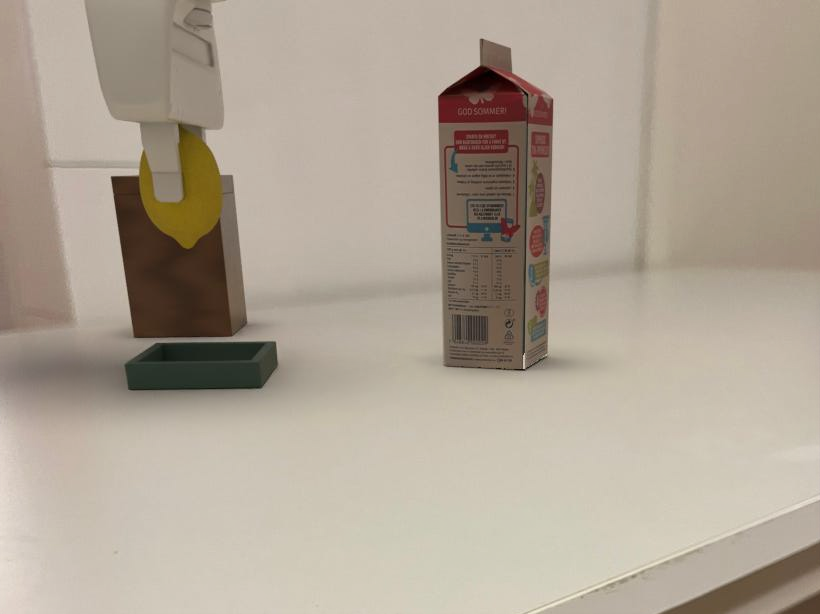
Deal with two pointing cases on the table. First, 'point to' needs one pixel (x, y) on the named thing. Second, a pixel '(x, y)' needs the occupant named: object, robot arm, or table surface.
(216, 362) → the low tray
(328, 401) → the table surface
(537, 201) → the juice carton
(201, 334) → the brown upright box
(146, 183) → the lemon
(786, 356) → the table surface
